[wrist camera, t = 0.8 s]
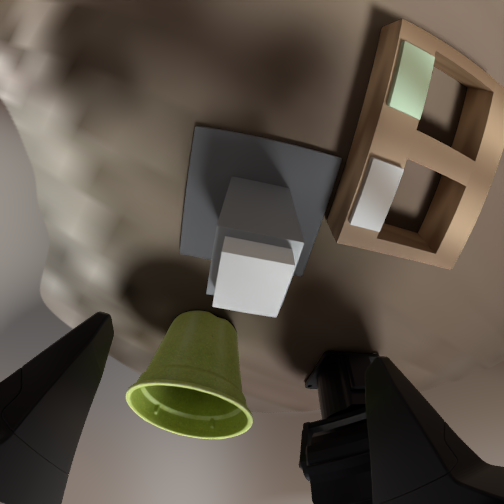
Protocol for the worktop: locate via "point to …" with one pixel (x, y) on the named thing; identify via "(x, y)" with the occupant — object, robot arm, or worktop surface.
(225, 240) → the plug
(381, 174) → the socket block
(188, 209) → the pad
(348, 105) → the worktop surface
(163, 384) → the plant pot
